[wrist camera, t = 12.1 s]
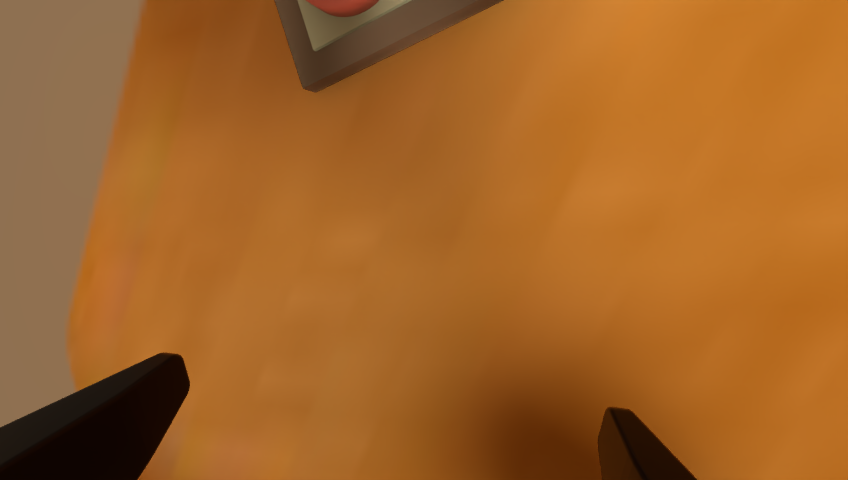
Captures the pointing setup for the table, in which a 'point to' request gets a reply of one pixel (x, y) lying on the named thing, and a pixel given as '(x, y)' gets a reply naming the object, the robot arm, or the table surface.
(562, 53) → the table surface
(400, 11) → the board
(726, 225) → the table surface
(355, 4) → the pawn
